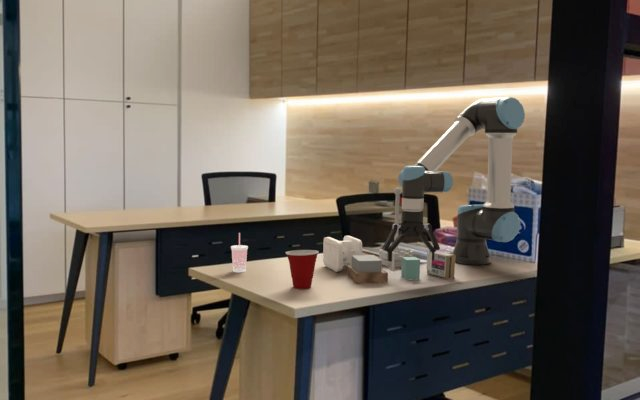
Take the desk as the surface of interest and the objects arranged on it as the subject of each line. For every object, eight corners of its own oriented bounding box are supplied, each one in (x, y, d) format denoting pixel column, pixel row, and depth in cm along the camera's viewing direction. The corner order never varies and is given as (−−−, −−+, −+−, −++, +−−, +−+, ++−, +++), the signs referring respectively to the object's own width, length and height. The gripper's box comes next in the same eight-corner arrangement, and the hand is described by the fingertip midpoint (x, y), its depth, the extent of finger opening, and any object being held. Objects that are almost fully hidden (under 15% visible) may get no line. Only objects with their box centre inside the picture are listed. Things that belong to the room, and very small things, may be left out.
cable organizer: (363, 272, 224) (364, 240, 223) (336, 274, 220) (337, 242, 219) (346, 264, 238) (347, 234, 237) (321, 265, 234) (321, 235, 233)
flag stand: (404, 268, 231) (406, 189, 228) (373, 264, 238) (375, 187, 235) (417, 263, 242) (420, 187, 239) (387, 259, 249) (389, 185, 246)
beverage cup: (250, 271, 221) (250, 233, 220) (234, 273, 218) (234, 234, 217) (243, 268, 226) (243, 231, 225) (228, 270, 223) (228, 232, 222)
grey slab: (373, 266, 218) (373, 255, 218) (381, 272, 208) (381, 260, 208) (351, 266, 217) (351, 255, 216) (358, 272, 207) (358, 261, 207)
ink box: (426, 274, 223) (427, 251, 222) (433, 272, 225) (434, 250, 224) (447, 279, 215) (448, 255, 214) (455, 278, 217) (456, 254, 216)
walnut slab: (377, 276, 220) (377, 265, 220) (387, 284, 208) (387, 272, 207) (347, 276, 218) (347, 265, 218) (356, 285, 206) (356, 273, 205)
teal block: (414, 276, 219) (415, 256, 218) (419, 279, 214) (420, 259, 213) (401, 276, 218) (401, 257, 217) (405, 279, 213) (406, 260, 212)
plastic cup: (305, 281, 208) (305, 246, 206) (324, 288, 199) (325, 251, 198) (278, 285, 201) (278, 249, 200) (297, 292, 192) (298, 255, 191)
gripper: (442, 208, 219) (440, 267, 221) (375, 209, 215) (373, 268, 217) (450, 211, 212) (448, 271, 214) (380, 211, 208) (379, 273, 210)
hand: (410, 270), depth 216 cm, fingers open, 13 cm apart
